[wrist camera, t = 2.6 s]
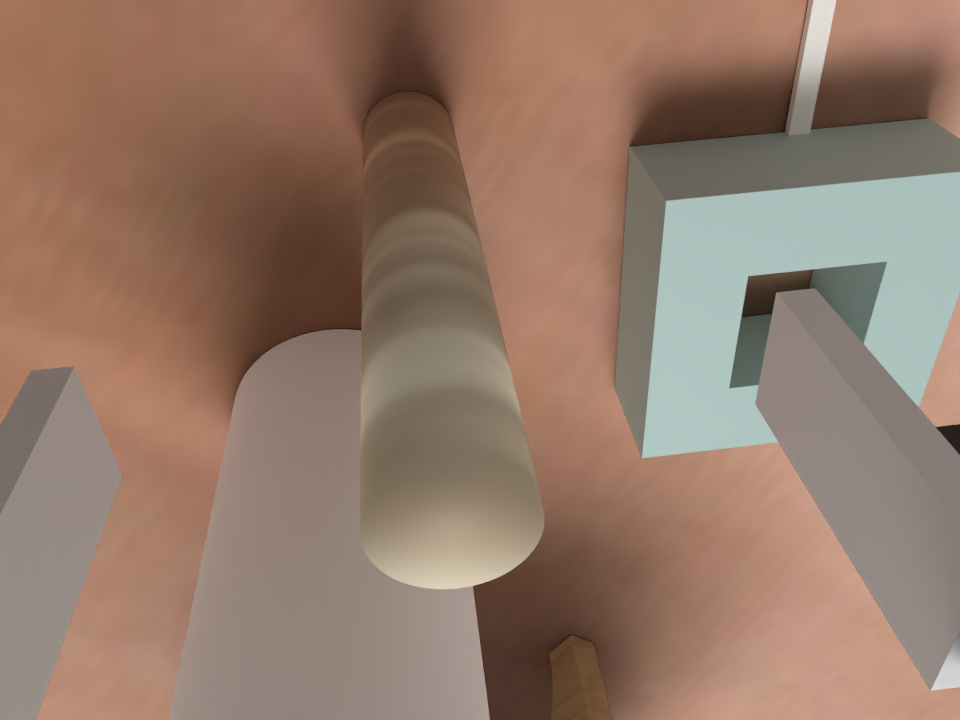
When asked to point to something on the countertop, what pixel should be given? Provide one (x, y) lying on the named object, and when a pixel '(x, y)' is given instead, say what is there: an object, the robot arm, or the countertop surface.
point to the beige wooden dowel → (434, 369)
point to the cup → (313, 569)
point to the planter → (577, 682)
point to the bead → (778, 266)
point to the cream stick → (809, 66)
